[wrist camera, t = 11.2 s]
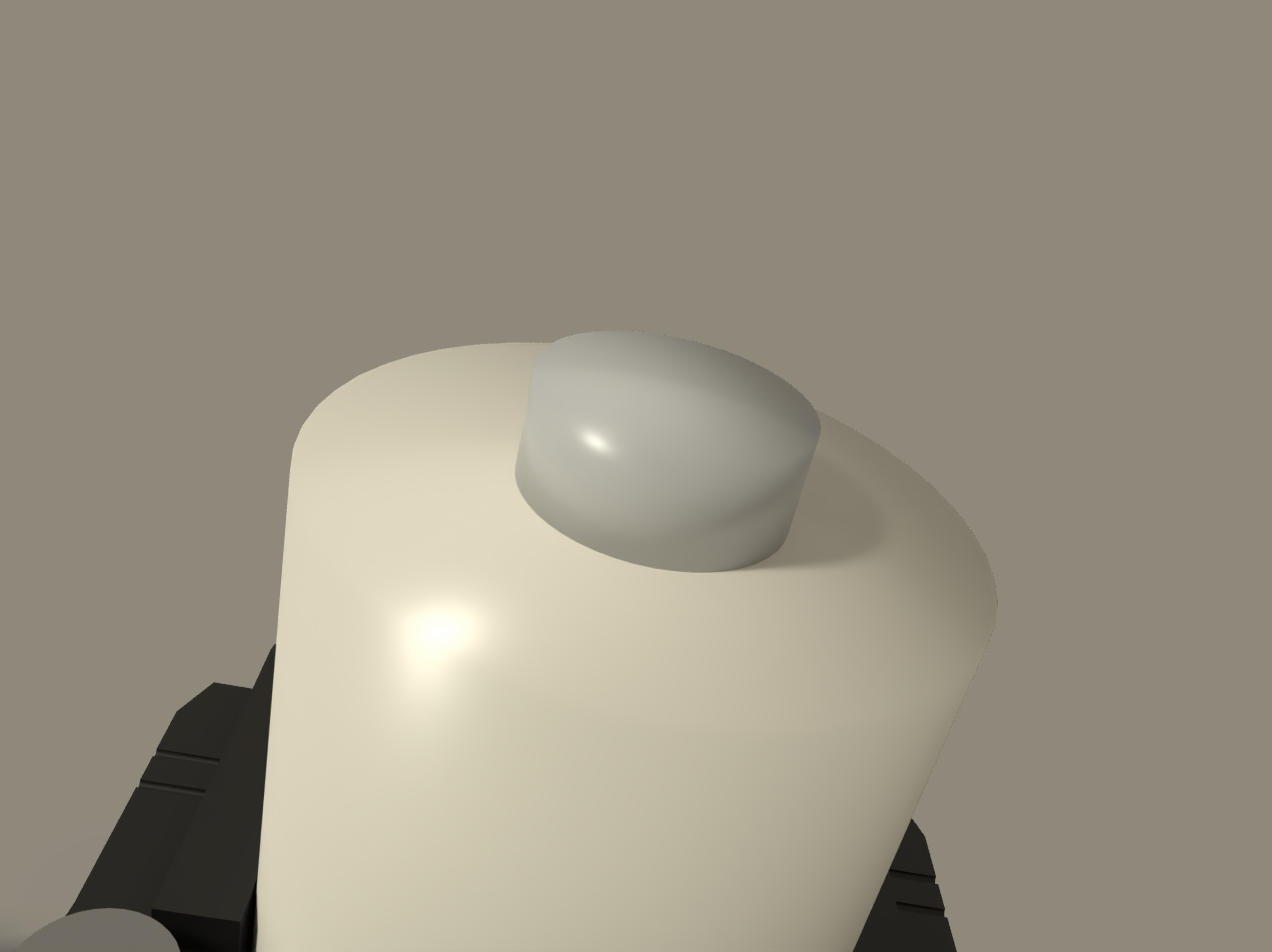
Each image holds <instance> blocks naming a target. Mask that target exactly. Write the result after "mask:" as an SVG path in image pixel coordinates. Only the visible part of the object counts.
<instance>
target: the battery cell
mask: <svg viewBox="0 0 1272 952" xmlns="http://www.w3.org/2000/svg"><path fill="white" fill-rule="evenodd" d="M997 606H998V600H997V593H996V586H995V579H994V576H993V573H992V570H991V568H990V565H989V563H988V559H987V557H986V554H985V552H984V551H983V549H982V547H981V546H980V544H979V542H978V540H977V539H976V537H975V535H974V533H973V532H972V530H971V529H970V528H969V526H968V525H967V524H966V522H965V521H964V520H963V518H962V517H961V516H960V515H959V513H958V512H957V511H956V510H955V508H954V507H953V506H952V505H951V504H950V503H949V502H948V501H947V500H946V499H945V498H944V497H943V496H942V495H941V494H940V493H939V492H938V491H937V490H936V489H935V488H934V487H933V486H932V485H931V484H930V483H929V482H927V481H926V480H925V479H924V478H922V477H921V476H920V475H919V474H918V473H917V472H915V471H914V470H913V469H912V468H911V467H910V466H908V465H907V464H905V463H904V462H903V461H901V460H900V459H898V458H897V457H896V456H894V455H893V454H891V453H890V452H889V451H887V450H886V449H884V448H883V447H882V446H880V445H878V444H877V443H875V442H873V441H872V440H870V439H868V438H867V437H865V436H864V435H862V434H860V433H859V432H857V431H855V430H854V429H852V428H850V427H848V426H846V425H844V424H843V423H841V422H839V421H837V420H835V419H833V418H831V417H829V416H827V415H825V414H824V413H821V412H820V411H817V410H815V409H814V408H813V406H812V405H811V403H810V402H809V401H808V400H807V399H806V398H805V397H804V396H803V395H802V394H801V393H800V392H799V391H798V390H797V389H795V388H794V387H793V386H792V385H790V384H789V383H788V382H786V381H785V380H783V379H782V378H780V377H779V376H777V375H775V374H774V373H772V372H770V371H769V370H767V369H765V368H763V367H761V366H759V365H757V364H755V363H753V362H751V361H748V360H746V359H744V358H742V357H740V356H737V355H734V354H732V353H729V352H727V351H724V350H721V349H718V348H715V347H711V346H708V345H705V344H701V343H698V342H694V341H690V340H686V339H681V338H677V337H672V336H666V335H660V334H653V333H644V332H633V331H595V332H588V333H581V334H576V335H571V336H568V337H565V338H562V339H559V340H557V341H555V342H553V343H497V344H478V345H470V346H463V347H454V348H446V349H442V350H436V351H431V352H427V353H422V354H417V355H413V356H410V357H406V358H403V359H400V360H397V361H394V362H390V363H387V364H384V365H382V366H380V367H377V368H375V369H373V370H371V371H368V372H366V373H363V374H361V375H359V376H357V377H356V378H354V379H353V380H351V381H349V382H348V383H346V384H344V385H343V386H341V387H340V388H338V389H336V390H335V391H334V392H333V393H332V394H330V395H329V396H328V397H327V398H326V399H325V400H324V401H322V402H321V403H320V404H319V405H318V406H317V407H316V408H315V410H314V411H313V412H312V414H311V415H310V416H309V418H308V419H307V420H306V422H305V423H304V424H303V426H302V428H301V430H300V433H299V435H298V437H297V440H296V443H295V445H294V447H293V453H292V461H291V469H290V480H289V492H288V505H287V517H286V529H285V543H284V554H283V568H282V580H281V593H280V604H279V617H278V630H277V642H276V654H275V667H274V679H273V692H272V704H271V717H270V729H269V742H268V754H267V767H266V779H265V792H264V804H263V817H262V829H261V842H260V854H259V867H258V879H257V892H256V904H255V917H254V929H253V942H252V952H853V950H854V947H855V945H856V943H857V941H858V938H859V936H860V934H861V932H862V929H863V927H864V925H865V922H866V920H867V918H868V916H869V913H870V911H871V909H872V907H873V904H874V902H875V900H876V898H877V895H878V893H879V891H880V888H881V886H882V884H883V882H884V879H885V877H886V875H887V873H888V870H889V868H890V866H891V864H892V861H893V859H894V857H895V854H896V852H897V850H898V848H899V845H900V843H901V841H902V839H903V836H904V834H905V832H906V830H907V827H908V825H909V823H910V820H911V818H912V815H913V813H914V811H915V809H916V807H917V805H918V802H919V800H920V798H921V795H922V793H923V791H924V789H925V786H926V784H927V782H928V780H929V777H930V775H931V773H932V771H933V768H934V766H935V764H936V762H937V759H938V757H939V755H940V752H941V750H942V748H943V746H944V743H945V741H946V739H947V736H948V734H949V732H950V730H951V728H952V725H953V723H954V721H955V718H956V716H957V714H958V712H959V709H960V707H961V705H962V703H963V700H964V698H965V696H966V694H967V691H968V689H969V686H970V684H971V682H972V680H973V678H974V675H975V673H976V671H977V669H978V666H979V664H980V662H981V660H982V657H983V655H984V652H985V650H986V648H987V646H988V643H989V641H990V638H991V636H992V633H993V631H994V629H995V623H996V615H997Z"/></svg>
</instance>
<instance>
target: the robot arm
mask: <svg viewBox="0 0 1272 952" xmlns="http://www.w3.org/2000/svg"><path fill="white" fill-rule="evenodd" d="M275 654H276V644H275V645H274V646H273V647H272V649H271V650H270V652H269V655H268V657H267V659H266V661H265V663H264V665H263V667H262V670H261V672H260V674H259V676H258V678H257V681H256V683H255V685H254V687H253V689H251V688H244V687H238V686H232V685H226V684H220V683H213V684H211V685H210V686H209V687H207V688H206V689H205V690H204V691H202V692H201V693H200V694H199V695H197V696H196V697H195V698H193V699H192V700H191V701H190V702H188V703H187V704H186V705H184V706H183V707H182V708H181V709H179V710H178V711H177V712H176V714H175V716H174V718H173V720H172V721H171V723H170V725H169V727H168V729H167V731H166V733H165V734H164V736H163V738H162V740H161V742H160V744H159V746H158V747H157V751H156V755H155V756H153V757H152V759H151V761H150V763H149V764H148V766H147V768H146V770H145V772H144V774H143V776H142V778H141V779H140V784H139V787H138V788H137V787H136V789H135V790H134V792H133V794H132V796H131V798H130V800H129V802H128V804H127V806H126V807H125V809H124V811H123V813H122V815H121V817H120V819H119V820H118V822H117V824H116V826H115V828H114V830H113V832H112V833H111V835H110V837H109V839H108V841H107V843H106V845H105V847H104V848H103V850H102V852H101V854H100V856H99V858H98V860H97V862H96V864H95V865H94V867H93V869H92V871H91V873H90V875H89V877H88V878H87V880H86V882H85V884H84V886H83V888H82V890H81V891H80V893H79V895H78V897H77V899H76V901H75V903H74V904H73V906H72V907H71V909H70V910H69V912H68V913H67V914H66V916H65V917H63V918H60V919H58V920H56V921H54V922H52V923H49V924H48V925H46V926H45V927H43V928H41V929H40V930H38V931H37V932H35V933H34V934H33V935H31V936H30V937H29V938H28V939H26V940H25V941H24V942H23V943H22V944H21V945H20V946H19V947H18V948H17V950H16V951H15V952H252V942H253V929H254V917H255V904H256V892H257V879H258V867H259V854H260V842H261V829H262V817H263V804H264V792H265V779H266V767H267V754H268V742H269V729H270V717H271V704H272V692H273V679H274V667H275ZM935 878H936V875H935V871H934V868H933V864H932V861H931V857H930V853H929V850H928V846H927V842H926V839H925V836H924V834H923V833H922V832H921V830H920V829H919V828H918V826H917V825H916V823H915V822H914V821H913V819H912V818H911V820H910V823H909V825H908V827H907V830H906V832H905V834H904V836H903V839H902V841H901V843H900V845H899V848H898V850H897V852H896V854H895V857H894V859H893V861H892V864H891V866H890V868H889V870H888V873H887V875H886V877H885V879H884V882H883V884H882V886H881V888H880V891H879V893H878V895H877V898H876V900H875V902H874V904H873V907H872V909H871V911H870V913H869V916H868V918H867V920H866V922H865V925H864V927H863V929H862V932H861V934H860V936H859V938H858V941H857V943H856V945H855V947H854V950H853V952H957V951H956V948H955V944H954V940H953V937H952V933H951V929H950V926H949V922H948V919H947V918H946V917H944V911H945V908H944V904H943V901H942V897H941V894H940V889H939V886H938V884H935Z"/></svg>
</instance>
